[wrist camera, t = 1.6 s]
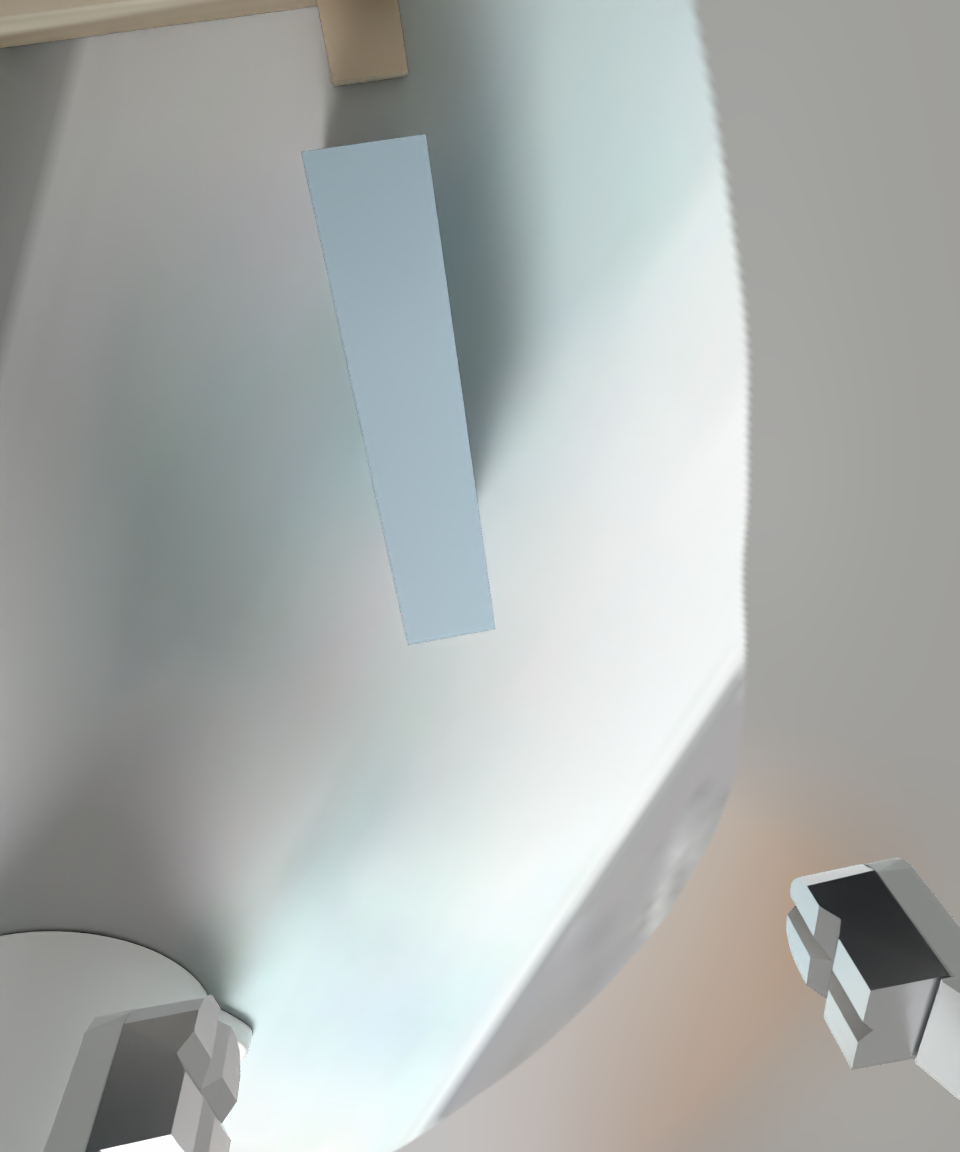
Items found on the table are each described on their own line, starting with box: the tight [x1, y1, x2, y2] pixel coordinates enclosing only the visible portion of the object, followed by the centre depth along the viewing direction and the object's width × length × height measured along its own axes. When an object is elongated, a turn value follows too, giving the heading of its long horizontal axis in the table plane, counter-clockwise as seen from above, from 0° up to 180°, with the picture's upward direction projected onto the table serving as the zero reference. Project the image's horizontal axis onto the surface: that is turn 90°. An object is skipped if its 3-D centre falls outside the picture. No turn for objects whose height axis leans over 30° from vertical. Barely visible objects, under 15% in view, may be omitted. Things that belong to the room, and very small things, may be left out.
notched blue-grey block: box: [301, 134, 495, 645], centre depth 20 cm, size 12×2×7 cm, turn 7°
